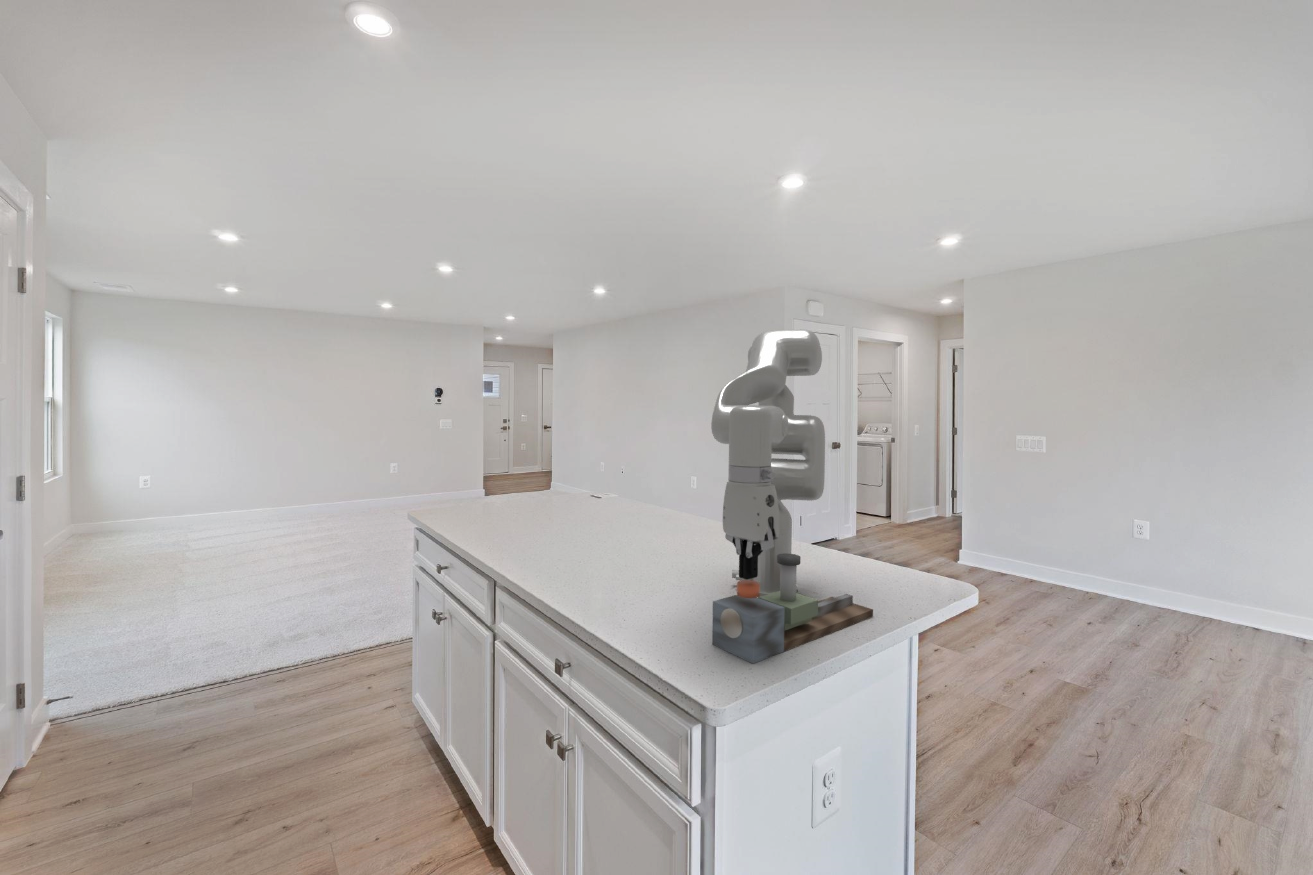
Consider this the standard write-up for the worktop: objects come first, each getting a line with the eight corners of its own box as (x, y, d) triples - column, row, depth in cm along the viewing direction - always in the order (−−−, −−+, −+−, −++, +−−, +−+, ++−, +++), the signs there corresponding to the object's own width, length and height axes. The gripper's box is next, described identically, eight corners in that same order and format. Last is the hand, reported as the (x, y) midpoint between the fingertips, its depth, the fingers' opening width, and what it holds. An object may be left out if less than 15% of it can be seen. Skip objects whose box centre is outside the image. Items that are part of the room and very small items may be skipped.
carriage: (790, 632, 104) (791, 564, 103) (757, 620, 110) (758, 555, 109) (817, 623, 109) (819, 557, 108) (784, 611, 115) (785, 549, 114)
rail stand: (751, 664, 96) (752, 617, 96) (710, 644, 104) (711, 601, 104) (872, 616, 119) (873, 578, 118) (831, 603, 127) (832, 567, 126)
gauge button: (748, 599, 99) (748, 588, 99) (732, 593, 103) (732, 582, 102) (764, 595, 102) (764, 584, 102) (747, 589, 105) (747, 578, 105)
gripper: (797, 478, 98) (795, 583, 98) (734, 470, 109) (733, 565, 110) (767, 481, 93) (766, 592, 94) (705, 473, 105) (704, 571, 106)
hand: (748, 577), depth 102 cm, fingers closed
